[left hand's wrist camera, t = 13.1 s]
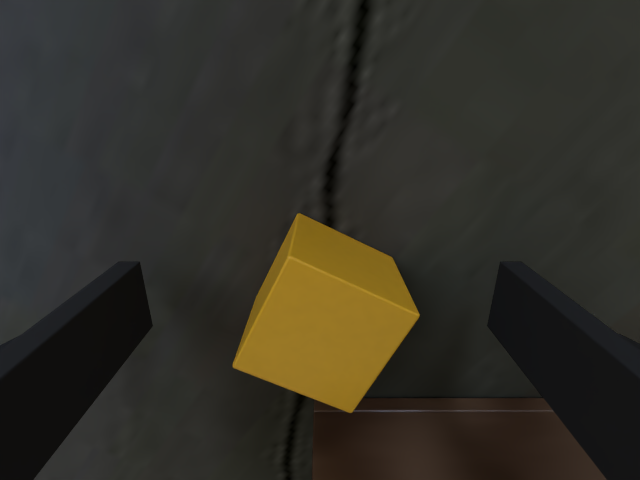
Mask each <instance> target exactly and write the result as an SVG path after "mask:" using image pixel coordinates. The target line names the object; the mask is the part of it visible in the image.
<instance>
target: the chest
mask: <svg viewBox="0 0 640 480" xmlns="http://www.w3.org/2000/svg"><path fill="white" fill-rule="evenodd" d="M312 480H607V479H606V478H605V477H604V475H603V474H602V473H601V472H600V470H599V469H598V468H597V466H596V465H595V464H594V463H593V461H592V460H591V459H590V457H589V456H588V455H587V454H586V452H585V451H584V450H583V448H582V447H581V446H580V445H579V443H578V442H577V441H576V439H575V438H574V437H573V436H572V434H571V433H570V432H569V430H568V429H567V428H566V427H565V425H564V424H563V423H562V421H561V420H560V419H559V418H558V416H557V415H556V414H555V412H554V411H553V410H552V409H551V407H550V406H549V405H548V403H547V402H546V401H545V400H544V398H362V400H361V401H360V402H359V404H358V405H357V407H356V408H355V409H354V411H353V412H352V413H348V412H346V411H343V410H341V409H338V408H335V407H333V406H330V405H328V404H325V403H322V402H320V401H317V400H315V399H314V420H313V456H312Z"/></svg>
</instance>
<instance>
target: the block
mask: <svg viewBox="0 0 640 480" xmlns="http://www.w3.org/2000/svg"><path fill="white" fill-rule="evenodd" d="M419 316H420V314H419V312H418V310H417V308H416V306H415V304H414V302H413V300H412V297H411V295H410V293H409V291H408V289H407V287H406V285H405V283H404V281H403V279H402V277H401V274H400V272H399V270H398V268H397V266H396V264H395V262H394V260H393V258H392V257H390V256H388V255H386V254H384V253H382V252H380V251H378V250H376V249H374V248H372V247H369V246H367V245H365V244H363V243H361V242H359V241H357V240H355V239H353V238H351V237H348V236H346V235H344V234H342V233H340V232H338V231H336V230H334V229H332V228H330V227H327V226H325V225H323V224H321V223H319V222H317V221H315V220H313V219H311V218H309V217H306V216H304V215H302V214H300V213H298V214H297V216H296V218H295V220H294V222H293V224H292V226H291V228H290V230H289V232H288V234H287V236H286V238H285V240H284V242H283V244H282V246H281V248H280V250H279V252H278V254H277V256H276V258H275V260H274V262H273V264H272V266H271V268H270V270H269V272H268V274H267V276H266V278H265V280H264V282H263V284H262V286H261V288H260V290H259V292H258V294H257V296H256V299H255V302H254V305H253V308H252V310H251V313H250V316H249V319H248V322H247V325H246V328H245V330H244V333H243V336H242V339H241V342H240V345H239V348H238V350H237V353H236V356H235V359H234V362H233V368H235V369H237V370H240V371H242V372H245V373H248V374H250V375H253V376H255V377H258V378H260V379H263V380H266V381H268V382H271V383H273V384H276V385H279V386H281V387H284V388H286V389H289V390H291V391H294V392H297V393H299V394H302V395H304V396H307V397H310V398H312V399H315V400H317V401H320V402H322V403H325V404H328V405H330V406H333V407H335V408H338V409H341V410H343V411H346V412H348V413H352V412H353V411H354V409H355V408H356V407H357V405H358V404H359V402H360V401H361V400H362V398H363V397H364V395H365V394H366V392H367V391H368V390H369V388H370V387H371V385H372V384H373V382H374V381H375V380H376V378H377V377H378V375H379V374H380V373H381V371H382V370H383V368H384V367H385V365H386V364H387V363H388V361H389V360H390V358H391V357H392V355H393V354H394V353H395V351H396V350H397V348H398V347H399V346H400V344H401V343H402V341H403V340H404V338H405V337H406V336H407V334H408V333H409V331H410V330H411V328H412V327H413V326H414V324H415V323H416V321H417V320H418V319H419Z"/></svg>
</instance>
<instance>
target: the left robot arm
mask: <svg viewBox="0 0 640 480" xmlns="http://www.w3.org/2000/svg"><path fill="white" fill-rule="evenodd" d="M152 326H153V325H152V320H151V315H150V310H149V305H148V300H147V295H146V290H145V285H144V280H143V275H142V270H141V265H140V262H118V263H116V264H115V265H114V266H112V267H111V268H110V269H108V270H107V271H106V272H104V273H103V274H102V275H100V276H99V277H98V278H96V279H95V280H94V281H92V282H91V283H90V284H88V285H87V286H86V287H84V288H83V289H82V290H80V291H79V292H78V293H76V294H75V295H74V296H72V297H71V298H70V299H68V300H67V301H66V302H64V303H63V304H62V305H60V306H59V307H58V308H56V309H55V310H54V311H52V312H51V313H50V314H48V315H47V316H46V317H44V318H43V319H42V320H40V321H39V322H38V323H36V324H35V325H34V326H32V327H31V328H30V329H28V330H27V331H26V332H24V333H23V334H22V335H20V336H18V337H16V338H14V339H12V340H10V341H8V342H6V343H4V344H2V345H0V480H33V479H34V478H35V477H36V475H37V474H38V473H39V472H40V470H41V469H42V468H43V466H44V465H45V464H46V463H47V461H48V460H49V459H50V457H51V456H52V455H53V454H54V452H55V451H56V450H57V448H58V447H59V446H60V445H61V443H62V442H63V441H64V439H65V438H66V437H67V436H68V434H69V433H70V432H71V430H72V429H73V428H74V427H75V425H76V424H77V423H78V421H79V420H80V419H81V418H82V416H83V415H84V414H85V412H86V411H87V410H88V409H89V407H90V406H91V405H92V403H93V402H94V401H95V400H96V398H97V397H98V396H99V394H100V393H101V392H102V391H103V389H104V388H105V387H106V385H107V384H108V383H109V382H110V380H111V379H112V378H113V376H114V375H115V374H116V372H117V371H118V370H119V369H120V367H121V366H122V365H123V363H124V362H125V361H126V360H127V358H128V357H129V356H130V354H131V353H132V352H133V351H134V349H135V348H136V347H137V345H138V344H139V343H140V342H141V340H142V339H143V338H144V336H145V335H146V334H147V333H148V331H149V330H150V329H151V327H152ZM487 326H488V327H489V329H490V330H491V331H492V333H493V334H494V335H495V336H496V338H497V339H498V340H499V342H500V343H501V344H502V345H503V347H504V348H505V349H506V351H507V352H508V353H509V354H510V356H511V357H512V358H513V360H514V361H515V362H516V363H517V365H518V366H519V367H520V369H521V370H522V371H523V372H524V374H525V375H526V376H527V378H528V379H529V380H530V382H531V383H532V384H533V385H534V387H535V388H536V389H537V391H538V392H539V393H540V394H541V396H542V397H543V398H544V400H545V401H546V402H547V403H548V405H549V406H550V407H551V409H552V410H553V411H554V412H555V414H556V415H557V416H558V418H559V419H560V420H561V421H562V423H563V424H564V425H565V427H566V428H567V429H568V430H569V432H570V433H571V434H572V436H573V437H574V438H575V439H576V441H577V442H578V443H579V445H580V446H581V447H582V448H583V450H584V451H585V452H586V454H587V455H588V456H589V457H590V459H591V460H592V461H593V463H594V464H595V465H596V466H597V468H598V469H599V470H600V472H601V473H602V474H603V475H604V477H605V478H606V479H607V480H640V344H639V343H637V342H635V341H633V340H631V339H629V338H627V337H625V336H623V335H621V334H617V333H616V332H614V331H613V330H612V329H610V328H609V327H608V326H606V325H605V324H604V323H602V322H601V321H600V320H598V319H597V318H596V317H594V316H593V315H592V314H590V313H589V312H588V311H586V310H585V309H584V308H582V307H581V306H580V305H578V304H577V303H576V302H574V301H573V300H572V299H570V298H569V297H568V296H566V295H565V294H564V293H562V292H561V291H560V290H558V289H557V288H556V287H554V286H553V285H552V284H550V283H549V282H548V281H546V280H545V279H544V278H542V277H541V276H540V275H538V274H537V273H536V272H534V271H533V270H532V269H530V268H529V267H528V266H526V265H525V264H524V263H522V262H500V265H499V270H498V275H497V280H496V285H495V290H494V295H493V300H492V305H491V310H490V315H489V320H488V325H487Z"/></svg>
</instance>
